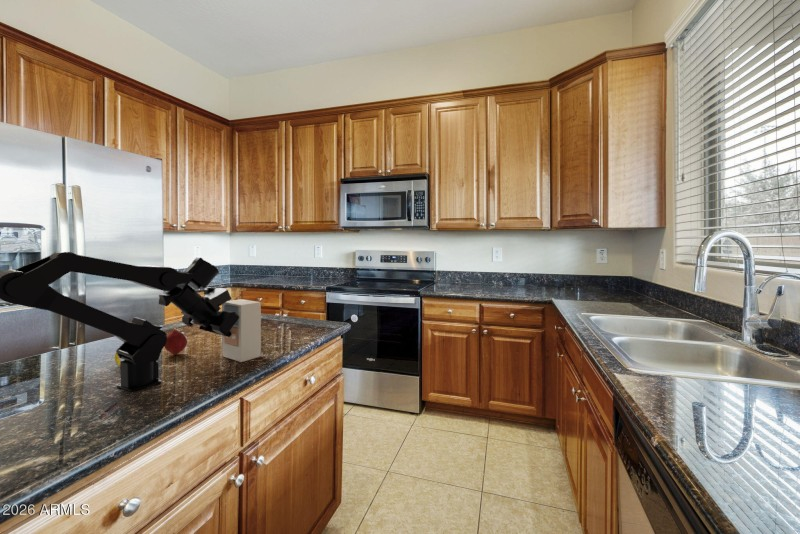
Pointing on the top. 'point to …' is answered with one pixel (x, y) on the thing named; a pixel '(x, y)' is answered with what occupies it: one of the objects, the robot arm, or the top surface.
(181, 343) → the onion
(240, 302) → the box
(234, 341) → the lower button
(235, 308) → the upper drawer
